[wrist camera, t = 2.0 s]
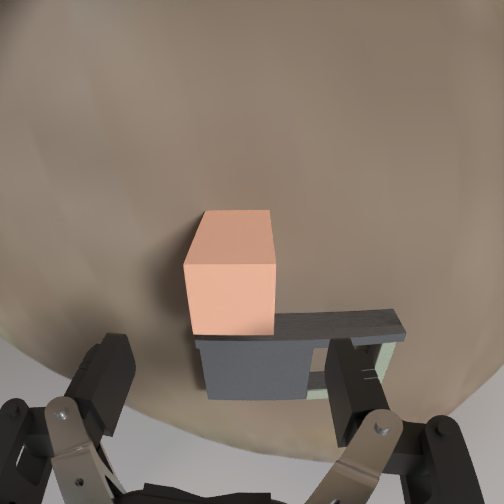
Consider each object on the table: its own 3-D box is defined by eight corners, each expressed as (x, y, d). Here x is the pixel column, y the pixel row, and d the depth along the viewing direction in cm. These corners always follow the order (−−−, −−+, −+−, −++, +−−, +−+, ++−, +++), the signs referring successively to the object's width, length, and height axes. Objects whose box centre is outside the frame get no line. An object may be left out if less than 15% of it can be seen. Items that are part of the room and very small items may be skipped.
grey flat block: (200, 313, 24) (194, 340, 21) (393, 308, 23) (406, 333, 21) (210, 382, 27) (207, 408, 24) (372, 376, 27) (380, 400, 24)
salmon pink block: (205, 210, 20) (183, 264, 14) (269, 209, 20) (276, 264, 14) (209, 266, 22) (193, 334, 16) (268, 266, 22) (273, 334, 16)
